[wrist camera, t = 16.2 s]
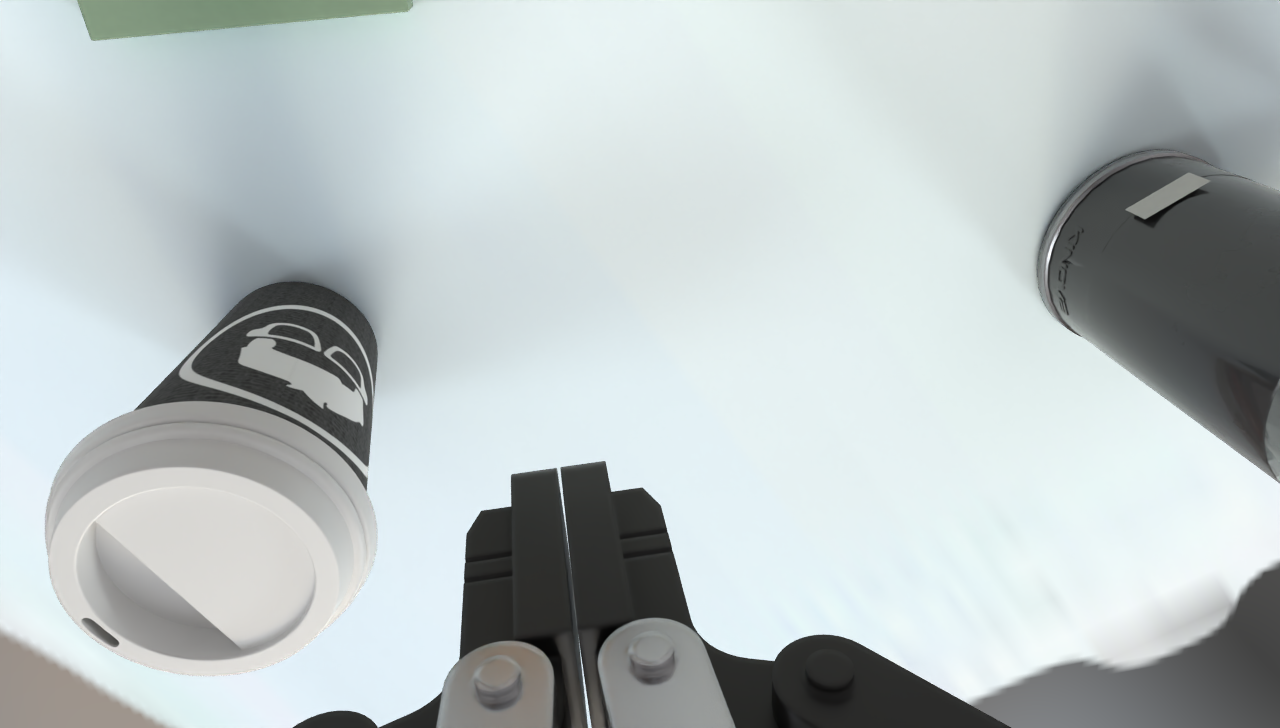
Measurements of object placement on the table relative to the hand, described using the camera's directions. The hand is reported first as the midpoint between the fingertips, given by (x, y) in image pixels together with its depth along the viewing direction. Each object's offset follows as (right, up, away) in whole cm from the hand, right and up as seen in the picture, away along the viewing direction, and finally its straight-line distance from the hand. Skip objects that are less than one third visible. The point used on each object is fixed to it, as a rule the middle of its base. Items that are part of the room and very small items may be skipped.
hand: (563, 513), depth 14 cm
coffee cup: (-14, +3, +25) cm, 29 cm away
